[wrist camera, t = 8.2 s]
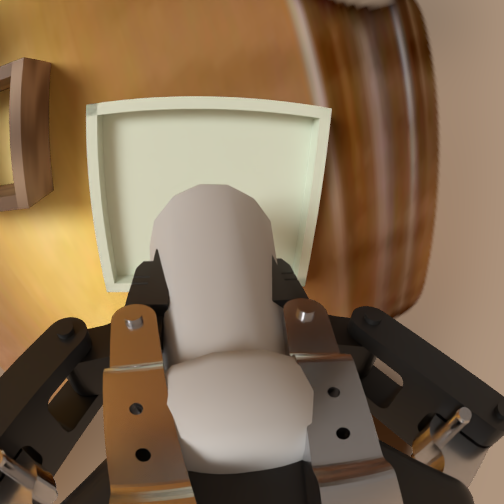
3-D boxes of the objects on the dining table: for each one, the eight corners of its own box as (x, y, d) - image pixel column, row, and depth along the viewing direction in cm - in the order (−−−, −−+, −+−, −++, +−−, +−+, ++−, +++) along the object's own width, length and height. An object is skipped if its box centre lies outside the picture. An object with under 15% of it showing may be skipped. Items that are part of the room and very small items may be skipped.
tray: (95, 104, 15) (86, 104, 14) (321, 108, 18) (331, 108, 17) (111, 279, 22) (107, 291, 20) (298, 274, 25) (304, 286, 23)
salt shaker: (281, 234, 16) (404, 449, 5) (201, 287, 17) (226, 514, 6) (221, 150, 14) (334, 367, 2) (135, 217, 14) (48, 467, 3)
